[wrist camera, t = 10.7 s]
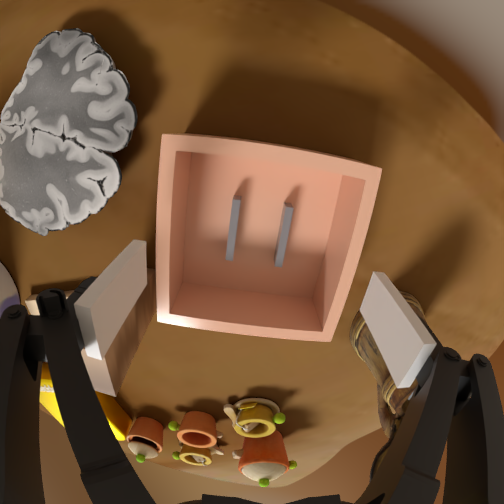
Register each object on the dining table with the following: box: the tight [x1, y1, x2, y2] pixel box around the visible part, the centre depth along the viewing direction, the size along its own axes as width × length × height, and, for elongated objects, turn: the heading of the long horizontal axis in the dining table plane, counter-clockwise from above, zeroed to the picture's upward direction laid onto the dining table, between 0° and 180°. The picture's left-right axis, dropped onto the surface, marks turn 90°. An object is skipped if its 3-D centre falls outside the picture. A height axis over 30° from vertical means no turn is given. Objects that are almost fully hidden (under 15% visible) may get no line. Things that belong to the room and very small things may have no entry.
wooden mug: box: [350, 291, 428, 482], centre depth 22 cm, size 9×14×18 cm, turn 164°
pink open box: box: [156, 133, 382, 342], centre depth 22 cm, size 14×14×6 cm
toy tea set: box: [127, 398, 297, 487], centre depth 34 cm, size 26×16×10 cm, turn 111°
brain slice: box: [0, 28, 137, 236], centre depth 20 cm, size 20×17×3 cm
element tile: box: [40, 363, 132, 441], centre depth 34 cm, size 15×15×5 cm
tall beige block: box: [81, 268, 157, 397], centre depth 22 cm, size 4×2×12 cm, turn 172°
